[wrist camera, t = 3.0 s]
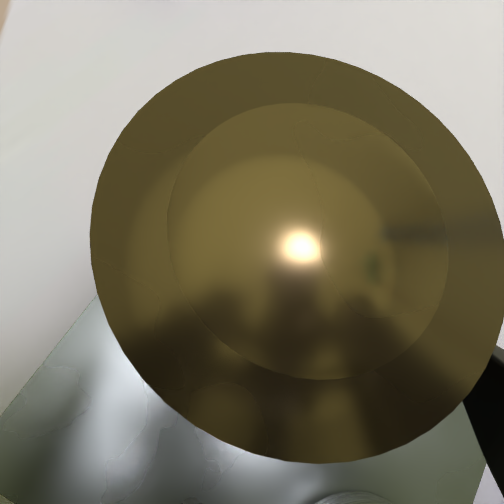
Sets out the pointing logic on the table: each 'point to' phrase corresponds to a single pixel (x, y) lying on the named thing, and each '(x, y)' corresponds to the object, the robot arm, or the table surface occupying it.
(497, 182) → the table surface
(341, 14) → the table surface
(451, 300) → the pin
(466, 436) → the bracket
